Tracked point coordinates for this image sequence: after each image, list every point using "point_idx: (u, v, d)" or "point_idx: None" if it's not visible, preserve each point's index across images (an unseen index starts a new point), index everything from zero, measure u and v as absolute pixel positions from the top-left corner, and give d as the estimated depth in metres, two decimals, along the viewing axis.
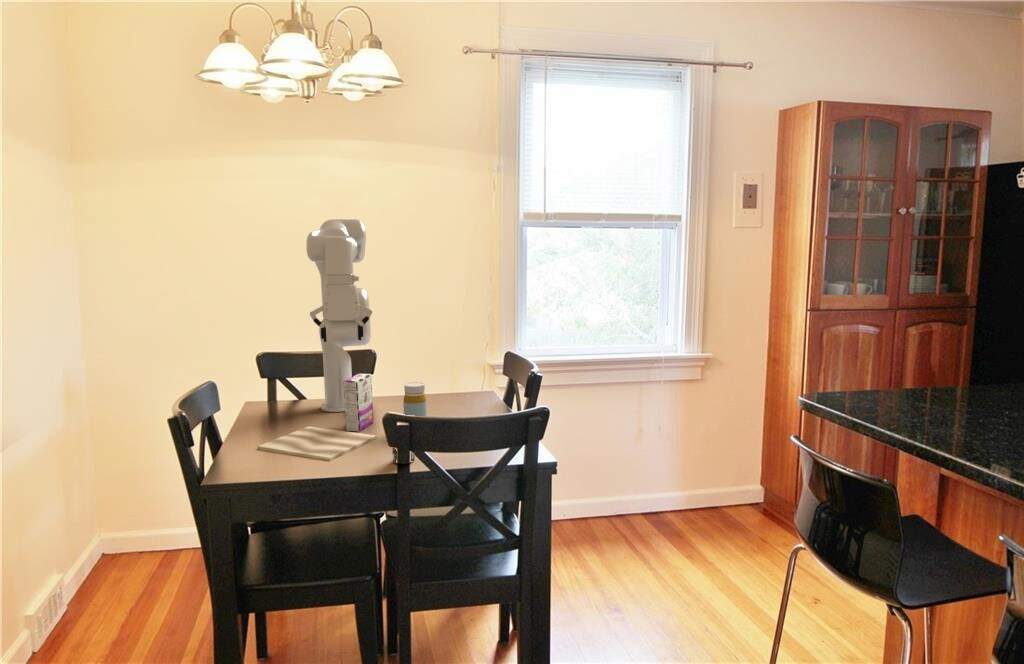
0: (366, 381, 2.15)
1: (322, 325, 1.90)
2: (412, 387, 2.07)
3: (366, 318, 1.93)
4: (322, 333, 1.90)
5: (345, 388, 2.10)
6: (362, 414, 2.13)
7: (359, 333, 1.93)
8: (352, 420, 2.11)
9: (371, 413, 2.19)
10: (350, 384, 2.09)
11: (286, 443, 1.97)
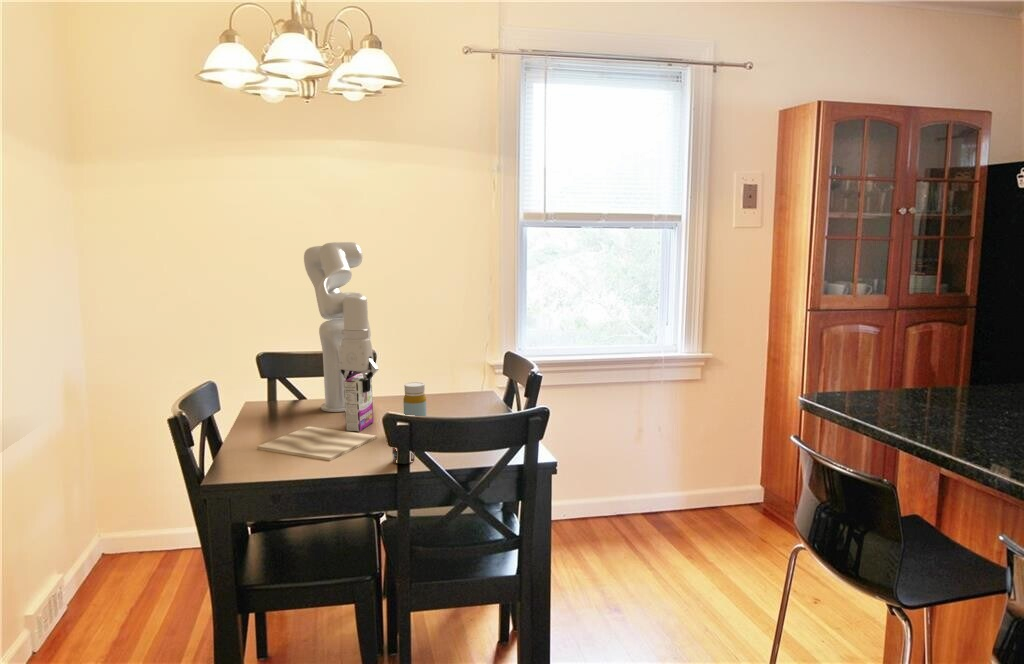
0: None
1: None
2: (412, 387, 2.07)
3: None
4: None
5: (346, 388, 2.10)
6: (362, 414, 2.13)
7: None
8: (352, 420, 2.11)
9: (371, 413, 2.19)
10: (351, 384, 2.09)
11: (286, 443, 1.97)
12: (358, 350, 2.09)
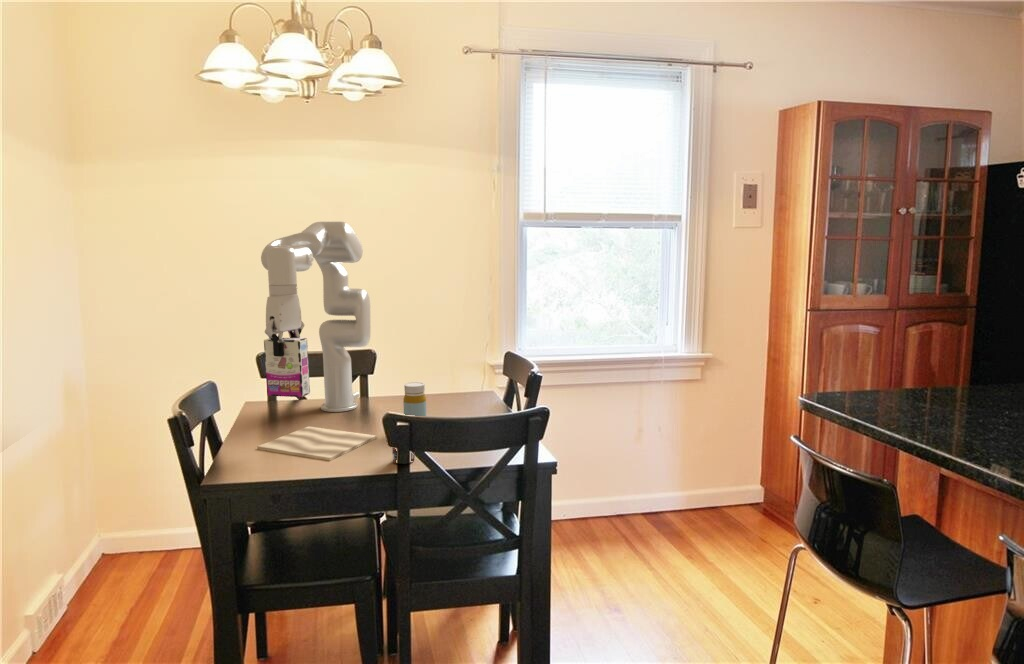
0: (285, 345, 1.89)
1: (280, 340, 1.88)
2: (412, 387, 2.07)
3: (300, 330, 1.96)
4: (279, 348, 1.88)
5: None
6: (274, 378, 1.91)
7: None
8: None
9: (295, 385, 1.90)
10: None
11: (286, 443, 1.97)
12: None
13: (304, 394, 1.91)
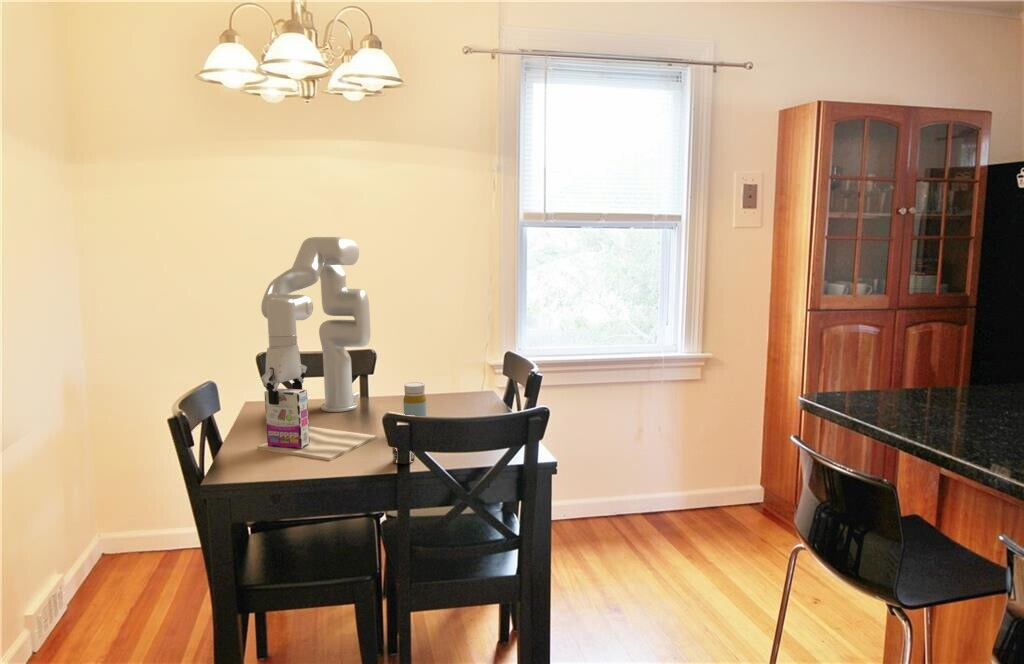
0: (284, 397, 1.91)
1: (275, 388, 1.87)
2: (412, 387, 2.07)
3: (303, 374, 1.98)
4: (274, 396, 1.88)
5: None
6: (274, 430, 1.93)
7: None
8: None
9: (295, 437, 1.92)
10: None
11: None
12: None
13: (303, 446, 1.93)
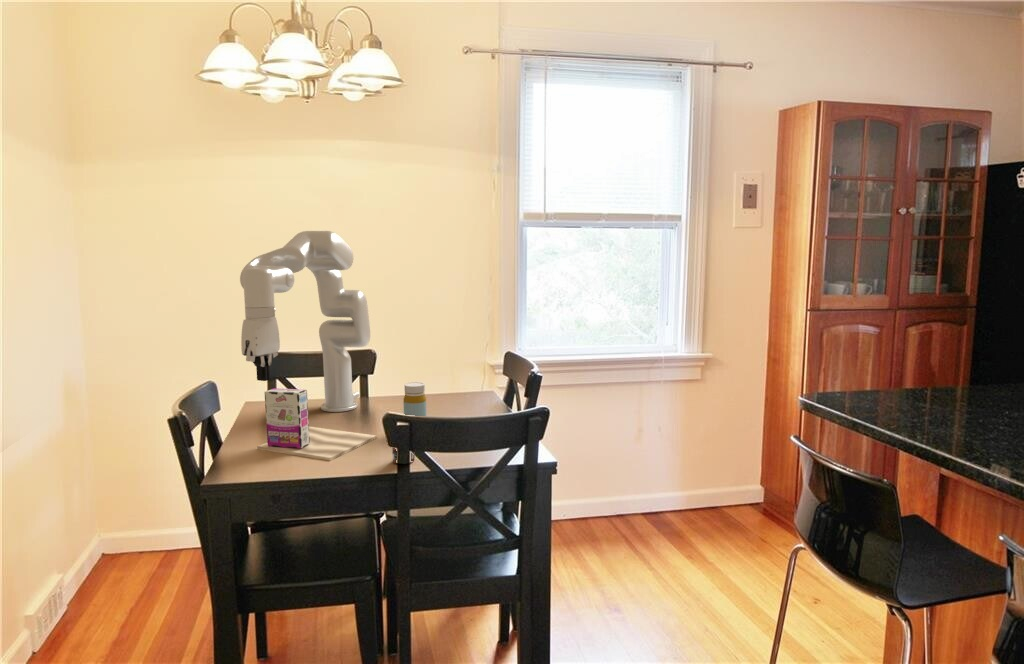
0: (284, 397, 1.91)
1: (263, 363, 1.82)
2: (412, 387, 2.07)
3: (271, 356, 1.86)
4: (262, 372, 1.83)
5: None
6: (274, 430, 1.93)
7: (268, 373, 1.84)
8: None
9: (295, 437, 1.92)
10: None
11: None
12: None
13: (303, 446, 1.93)
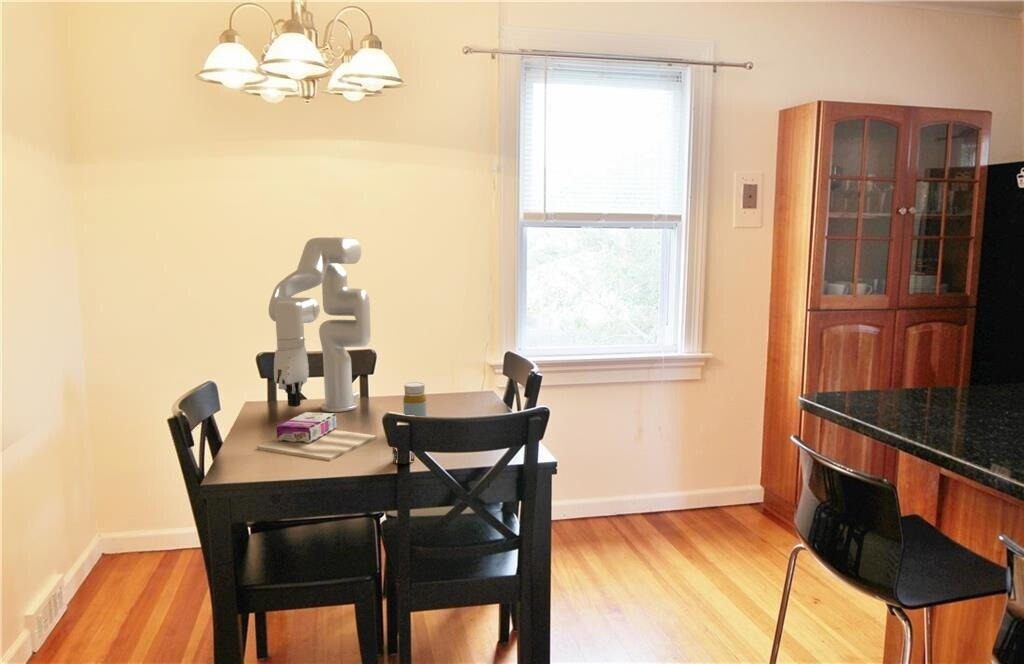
0: (321, 413, 2.11)
1: (294, 391, 1.94)
2: (412, 387, 2.07)
3: None
4: (293, 398, 1.95)
5: None
6: (293, 421, 2.03)
7: (299, 399, 1.96)
8: None
9: (309, 424, 1.99)
10: None
11: (286, 443, 1.97)
12: None
13: (310, 431, 1.96)
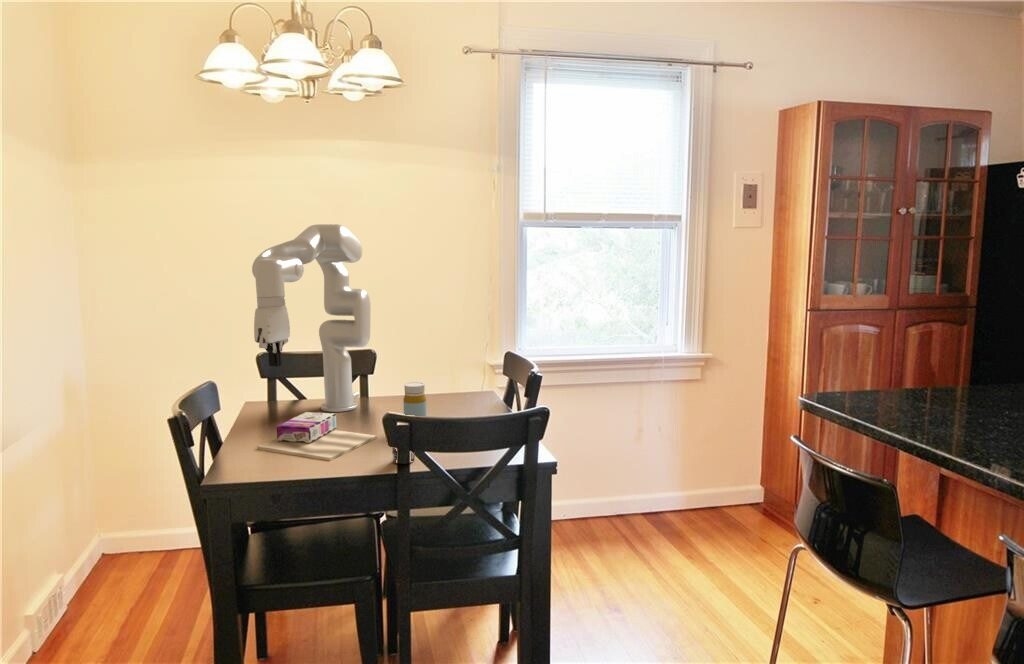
0: (321, 413, 2.11)
1: (275, 350, 1.92)
2: (412, 387, 2.07)
3: (282, 343, 1.95)
4: (274, 358, 1.93)
5: None
6: (293, 421, 2.03)
7: (280, 358, 1.94)
8: None
9: (309, 424, 1.99)
10: None
11: (286, 443, 1.97)
12: None
13: (310, 431, 1.96)
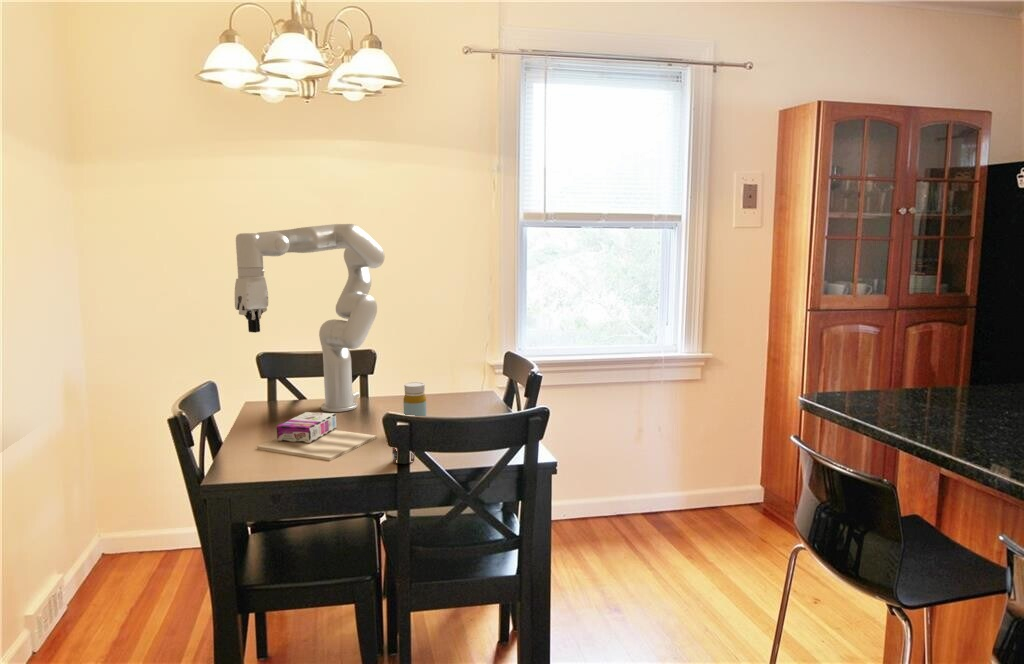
0: (321, 413, 2.11)
1: (254, 317, 2.09)
2: (412, 387, 2.07)
3: (261, 311, 2.13)
4: (253, 324, 2.10)
5: None
6: (293, 421, 2.03)
7: (258, 325, 2.11)
8: None
9: (309, 424, 1.99)
10: None
11: (286, 443, 1.97)
12: None
13: (310, 431, 1.96)
